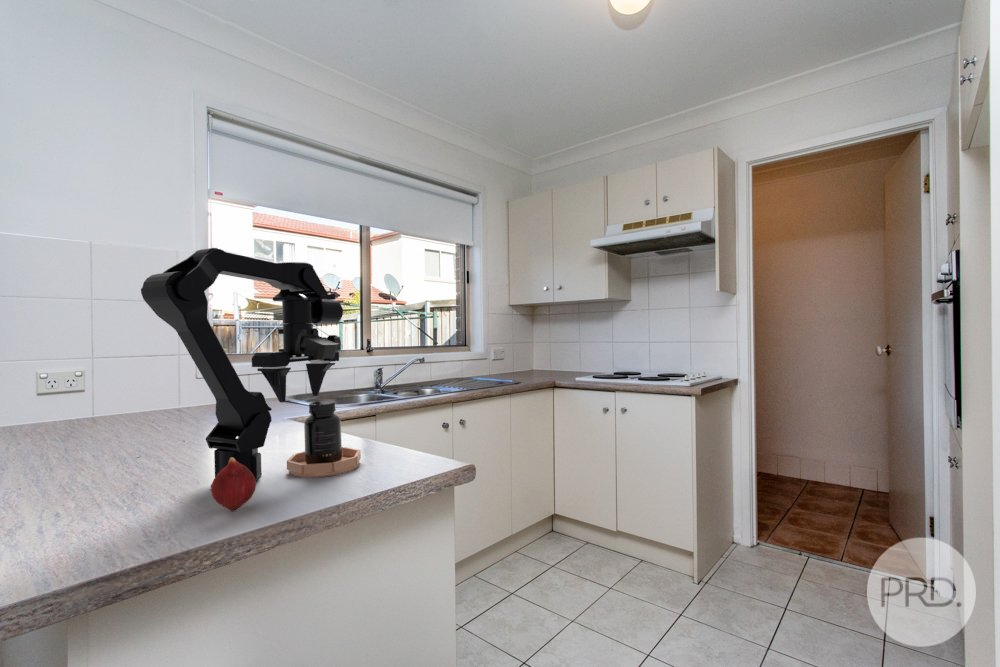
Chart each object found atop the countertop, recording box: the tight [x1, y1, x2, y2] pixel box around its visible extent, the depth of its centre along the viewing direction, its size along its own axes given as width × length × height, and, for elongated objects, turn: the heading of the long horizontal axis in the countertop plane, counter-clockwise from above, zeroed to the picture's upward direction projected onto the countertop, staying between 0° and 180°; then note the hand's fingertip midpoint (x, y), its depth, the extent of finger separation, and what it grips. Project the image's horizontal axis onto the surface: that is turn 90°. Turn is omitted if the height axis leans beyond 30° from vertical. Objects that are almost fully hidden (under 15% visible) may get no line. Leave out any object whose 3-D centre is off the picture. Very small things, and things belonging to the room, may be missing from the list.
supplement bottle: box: [303, 400, 343, 464], centre depth 94 cm, size 7×7×12 cm
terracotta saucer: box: [286, 446, 362, 479], centre depth 94 cm, size 13×13×2 cm
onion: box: [210, 458, 257, 512], centre depth 72 cm, size 6×6×8 cm
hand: (299, 398), depth 99 cm, fingers open, 9 cm apart
